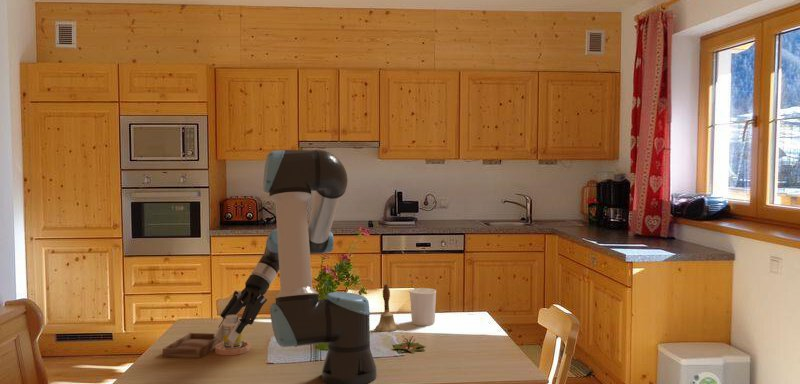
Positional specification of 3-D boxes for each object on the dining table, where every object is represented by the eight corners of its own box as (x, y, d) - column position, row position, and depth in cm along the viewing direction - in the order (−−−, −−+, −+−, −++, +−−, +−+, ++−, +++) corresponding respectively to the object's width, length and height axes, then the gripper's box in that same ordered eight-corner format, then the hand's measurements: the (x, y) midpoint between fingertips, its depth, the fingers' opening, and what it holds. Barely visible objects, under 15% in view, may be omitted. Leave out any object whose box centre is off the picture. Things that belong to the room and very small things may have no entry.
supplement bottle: (243, 344, 202) (242, 313, 202) (240, 349, 197) (239, 317, 196) (225, 345, 202) (224, 314, 201) (222, 350, 196) (221, 318, 196)
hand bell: (397, 332, 218) (397, 286, 217) (374, 331, 219) (373, 286, 218) (399, 325, 226) (398, 282, 225) (376, 325, 227) (376, 282, 226)
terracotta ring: (242, 355, 193) (241, 350, 193) (209, 354, 195) (209, 349, 195) (255, 345, 204) (255, 340, 204) (224, 344, 206) (223, 339, 206)
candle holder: (405, 321, 232) (405, 289, 231) (428, 318, 236) (428, 286, 235) (417, 327, 223) (416, 294, 222) (441, 324, 227) (441, 291, 226)
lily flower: (431, 353, 194) (431, 339, 194) (394, 357, 192) (394, 342, 192) (421, 343, 206) (421, 329, 206) (386, 345, 203) (386, 332, 203)
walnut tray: (199, 358, 192) (198, 350, 192) (162, 356, 193) (162, 348, 193) (224, 341, 209) (223, 333, 209) (190, 340, 211) (190, 332, 211)
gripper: (286, 288, 206) (250, 350, 193) (247, 283, 217) (210, 342, 204) (274, 275, 202) (237, 337, 189) (235, 270, 212) (197, 329, 199)
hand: (223, 339), depth 196 cm, fingers closed on supplement bottle, 5 cm apart
